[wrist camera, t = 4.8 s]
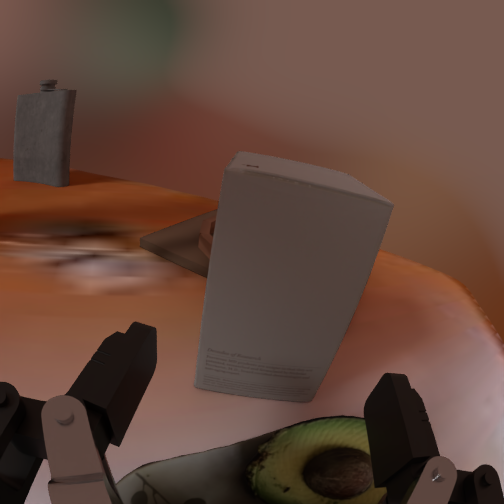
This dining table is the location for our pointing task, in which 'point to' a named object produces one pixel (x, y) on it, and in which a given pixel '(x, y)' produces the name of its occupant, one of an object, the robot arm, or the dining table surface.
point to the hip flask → (44, 135)
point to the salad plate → (267, 469)
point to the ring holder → (185, 242)
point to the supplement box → (284, 275)
